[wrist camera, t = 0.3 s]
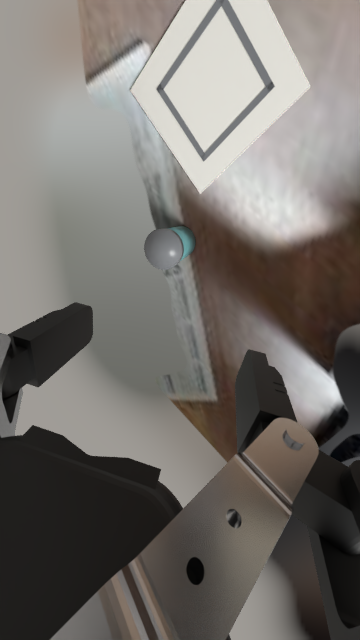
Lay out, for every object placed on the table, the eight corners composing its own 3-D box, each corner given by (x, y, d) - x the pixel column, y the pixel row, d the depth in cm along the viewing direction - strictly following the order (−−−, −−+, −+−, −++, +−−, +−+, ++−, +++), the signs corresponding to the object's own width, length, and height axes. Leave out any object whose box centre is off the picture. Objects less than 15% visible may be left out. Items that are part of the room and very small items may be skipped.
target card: (230, -68, 18) (230, -74, 18) (309, 88, 21) (310, 85, 21) (131, 91, 25) (129, 89, 25) (200, 193, 28) (199, 193, 28)
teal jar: (183, 218, 30) (163, 219, 23) (202, 244, 31) (188, 254, 24) (161, 239, 32) (137, 246, 25) (179, 263, 33) (161, 276, 26)
